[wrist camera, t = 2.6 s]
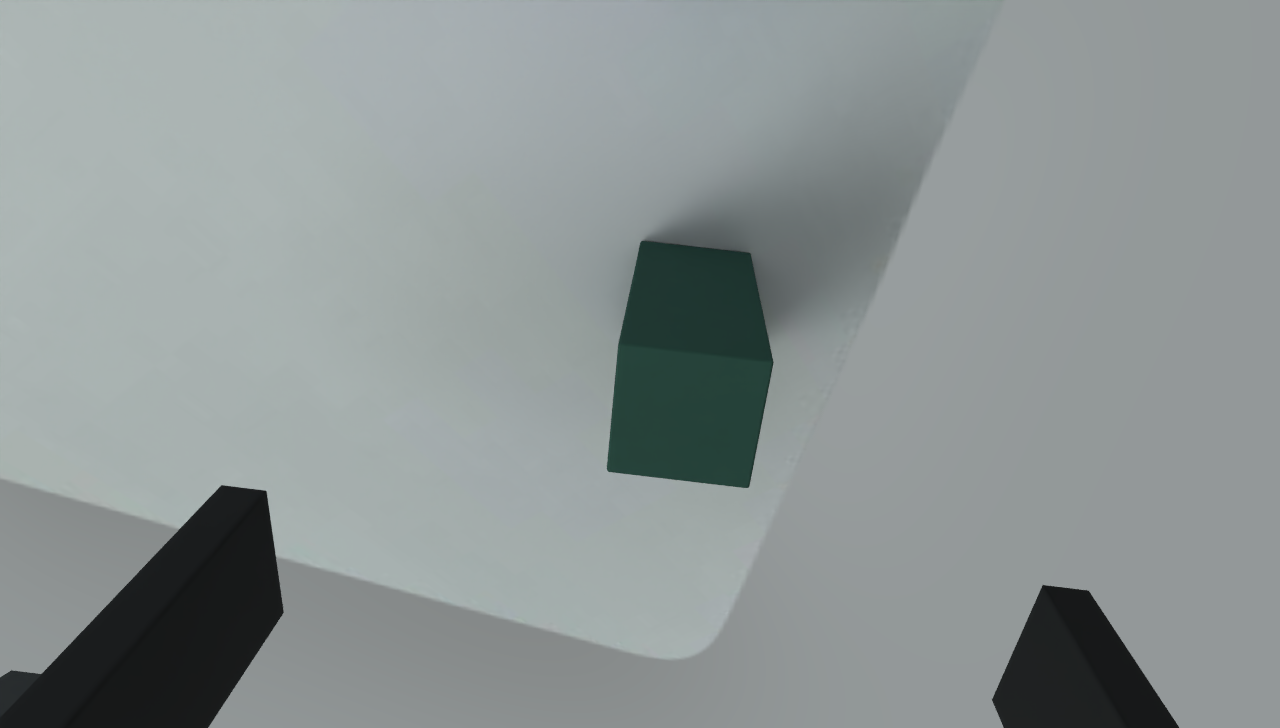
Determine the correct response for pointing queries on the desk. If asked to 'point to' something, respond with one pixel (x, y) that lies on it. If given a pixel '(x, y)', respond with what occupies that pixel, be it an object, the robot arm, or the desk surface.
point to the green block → (690, 368)
